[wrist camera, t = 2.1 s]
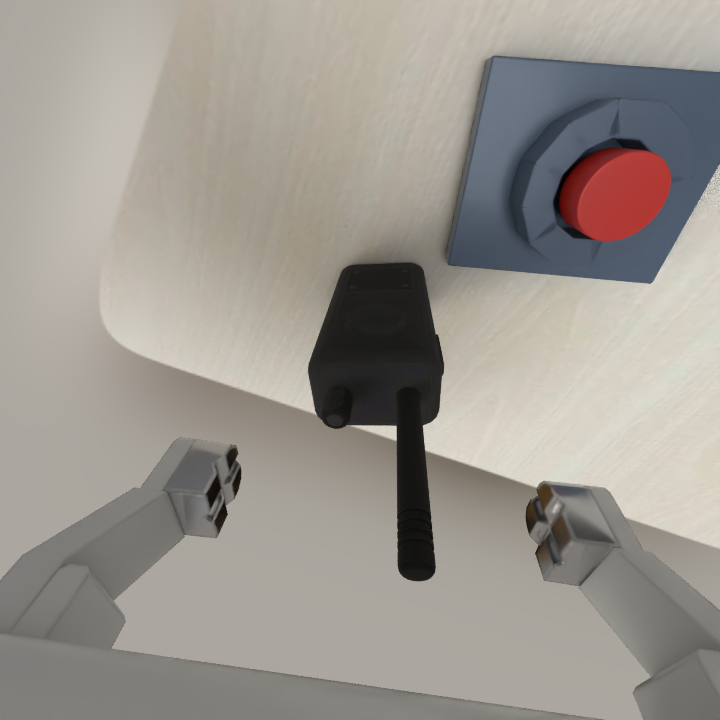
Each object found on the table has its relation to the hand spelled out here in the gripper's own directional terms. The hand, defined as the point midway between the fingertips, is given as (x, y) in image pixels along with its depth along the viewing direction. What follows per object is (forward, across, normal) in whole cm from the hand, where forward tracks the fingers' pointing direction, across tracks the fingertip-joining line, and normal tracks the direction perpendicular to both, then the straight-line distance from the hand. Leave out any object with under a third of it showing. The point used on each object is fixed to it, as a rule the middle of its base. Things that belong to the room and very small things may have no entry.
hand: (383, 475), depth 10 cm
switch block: (+12, -8, -6) cm, 16 cm away
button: (+10, -8, -6) cm, 14 cm away
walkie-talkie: (+13, 0, 0) cm, 13 cm away
